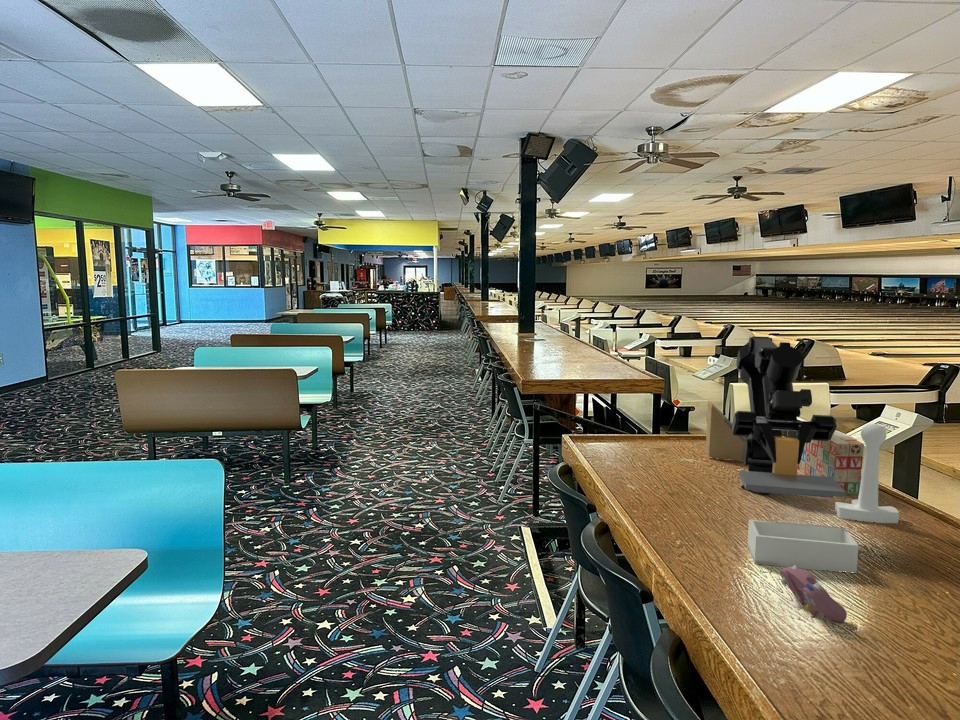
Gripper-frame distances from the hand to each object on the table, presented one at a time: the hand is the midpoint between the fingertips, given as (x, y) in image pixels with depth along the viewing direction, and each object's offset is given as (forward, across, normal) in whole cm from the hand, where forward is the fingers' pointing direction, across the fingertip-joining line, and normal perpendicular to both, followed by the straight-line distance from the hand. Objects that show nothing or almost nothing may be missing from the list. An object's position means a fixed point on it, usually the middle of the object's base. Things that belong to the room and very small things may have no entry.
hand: (786, 462), depth 128 cm
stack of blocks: (-16, +17, +36) cm, 42 cm away
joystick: (+1, +18, +18) cm, 26 cm away
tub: (+20, 0, -1) cm, 20 cm away
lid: (+6, 0, 0) cm, 6 cm away
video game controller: (+33, -2, -14) cm, 35 cm away
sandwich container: (-27, -2, +47) cm, 55 cm away
